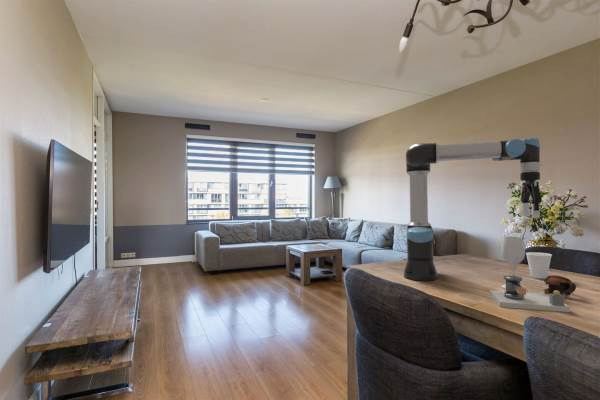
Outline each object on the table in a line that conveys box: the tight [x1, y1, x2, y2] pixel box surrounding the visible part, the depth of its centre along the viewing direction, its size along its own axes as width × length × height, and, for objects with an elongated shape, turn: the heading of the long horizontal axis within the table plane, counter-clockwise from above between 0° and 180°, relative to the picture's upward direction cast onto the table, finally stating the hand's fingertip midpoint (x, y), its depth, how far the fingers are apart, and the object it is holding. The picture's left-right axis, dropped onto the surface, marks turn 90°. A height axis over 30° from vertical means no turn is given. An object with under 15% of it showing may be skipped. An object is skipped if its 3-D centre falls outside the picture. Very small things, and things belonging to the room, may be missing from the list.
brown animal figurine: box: [543, 274, 577, 297], centre depth 125 cm, size 12×10×8 cm
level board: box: [489, 290, 571, 313], centre depth 117 cm, size 20×15×6 cm
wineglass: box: [501, 236, 527, 290], centre depth 135 cm, size 9×9×21 cm
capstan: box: [503, 274, 527, 299], centre depth 115 cm, size 14×6×7 cm, turn 161°
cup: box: [525, 251, 553, 280], centre depth 152 cm, size 10×10×11 cm
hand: (530, 217), depth 153 cm, fingers open, 13 cm apart
